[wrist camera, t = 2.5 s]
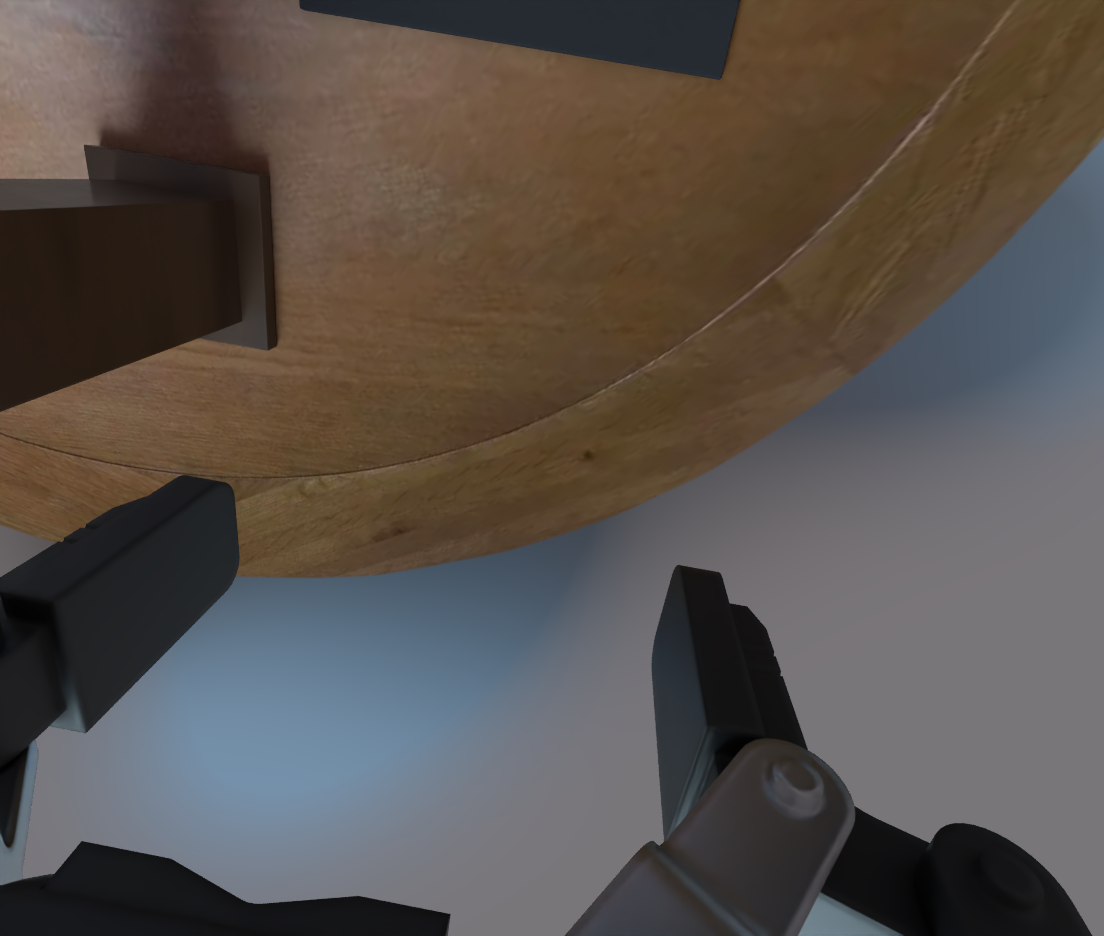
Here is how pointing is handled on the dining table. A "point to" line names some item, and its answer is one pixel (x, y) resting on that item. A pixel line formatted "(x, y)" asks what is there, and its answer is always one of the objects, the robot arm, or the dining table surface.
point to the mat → (572, 26)
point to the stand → (129, 267)
